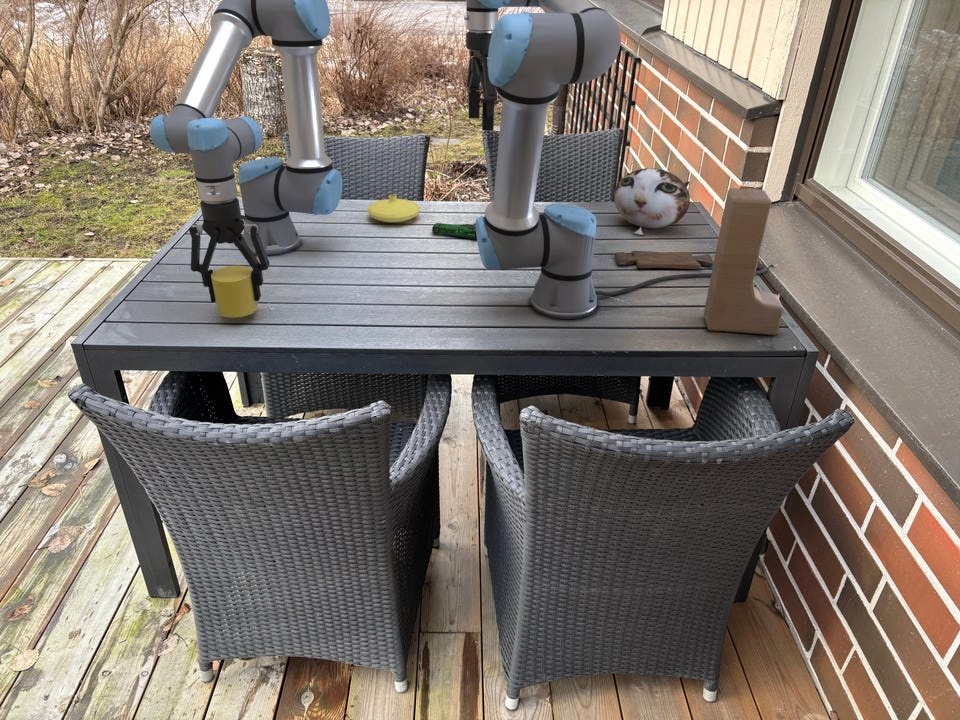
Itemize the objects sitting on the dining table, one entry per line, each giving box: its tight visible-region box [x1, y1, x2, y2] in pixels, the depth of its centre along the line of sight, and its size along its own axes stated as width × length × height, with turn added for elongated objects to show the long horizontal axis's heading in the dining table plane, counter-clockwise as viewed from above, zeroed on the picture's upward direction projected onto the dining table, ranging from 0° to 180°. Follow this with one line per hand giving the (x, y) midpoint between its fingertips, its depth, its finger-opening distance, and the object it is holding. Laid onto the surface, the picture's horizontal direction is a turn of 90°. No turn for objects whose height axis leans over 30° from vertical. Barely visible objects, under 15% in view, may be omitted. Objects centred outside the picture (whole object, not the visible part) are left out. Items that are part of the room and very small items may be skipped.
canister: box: [211, 265, 259, 319], centre depth 156 cm, size 9×9×8 cm
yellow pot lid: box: [366, 194, 420, 224], centre depth 215 cm, size 16×16×7 cm
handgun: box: [431, 222, 477, 241], centre depth 208 cm, size 16×3×15 cm
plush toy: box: [613, 167, 691, 236], centre depth 209 cm, size 22×18×20 cm
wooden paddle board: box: [614, 250, 714, 270], centre depth 190 cm, size 26×2×10 cm
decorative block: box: [703, 187, 785, 336], centre depth 152 cm, size 8×15×30 cm, turn 82°
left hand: (236, 298), depth 157 cm, fingers closed on canister, 9 cm apart
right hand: (480, 124), depth 179 cm, fingers open, 13 cm apart
